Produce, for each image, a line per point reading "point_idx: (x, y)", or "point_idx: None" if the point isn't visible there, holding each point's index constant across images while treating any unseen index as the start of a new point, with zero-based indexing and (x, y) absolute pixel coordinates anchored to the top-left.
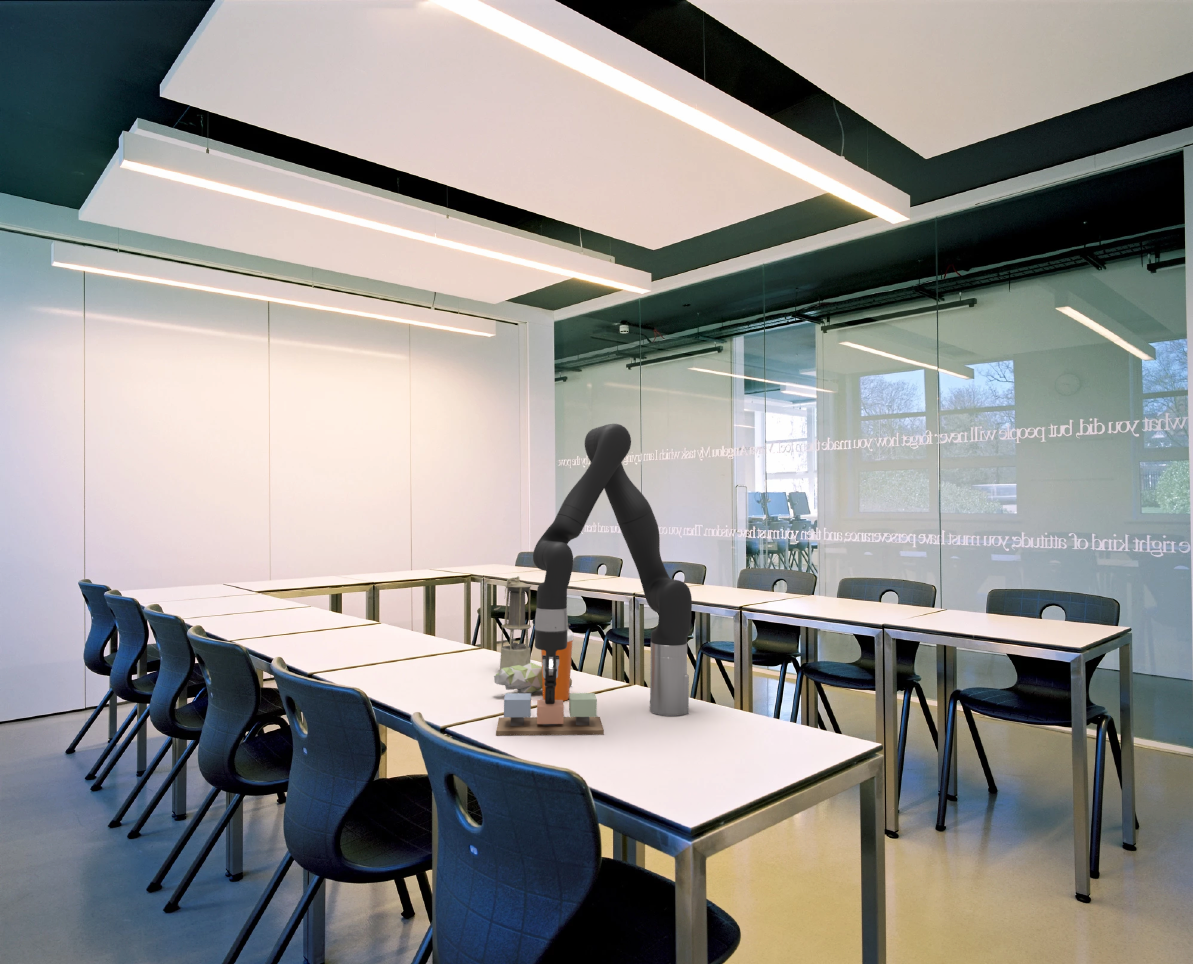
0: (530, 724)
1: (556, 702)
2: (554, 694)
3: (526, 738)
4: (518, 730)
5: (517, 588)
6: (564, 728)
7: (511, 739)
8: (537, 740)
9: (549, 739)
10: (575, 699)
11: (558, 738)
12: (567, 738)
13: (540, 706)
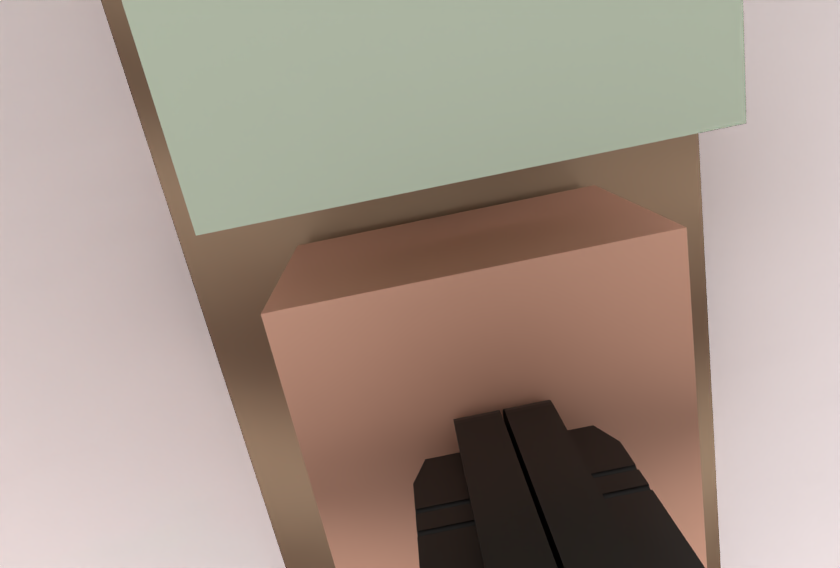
0: None
1: (450, 379)
2: (594, 481)
3: (773, 443)
4: (708, 544)
5: None
6: (624, 161)
7: (797, 537)
8: (831, 351)
9: (806, 259)
10: (733, 10)
11: (778, 183)
12: (780, 95)
13: (700, 536)
